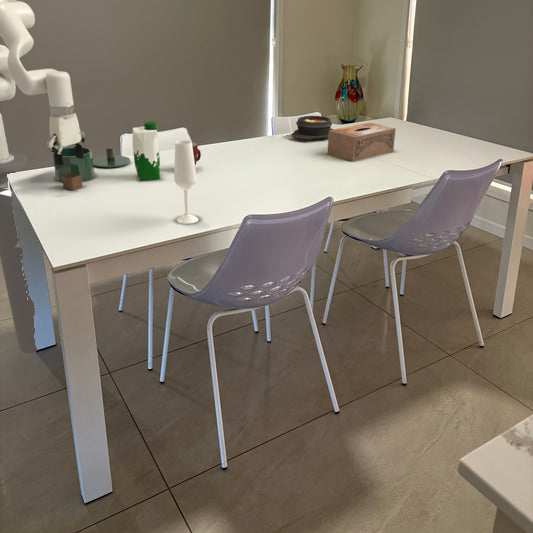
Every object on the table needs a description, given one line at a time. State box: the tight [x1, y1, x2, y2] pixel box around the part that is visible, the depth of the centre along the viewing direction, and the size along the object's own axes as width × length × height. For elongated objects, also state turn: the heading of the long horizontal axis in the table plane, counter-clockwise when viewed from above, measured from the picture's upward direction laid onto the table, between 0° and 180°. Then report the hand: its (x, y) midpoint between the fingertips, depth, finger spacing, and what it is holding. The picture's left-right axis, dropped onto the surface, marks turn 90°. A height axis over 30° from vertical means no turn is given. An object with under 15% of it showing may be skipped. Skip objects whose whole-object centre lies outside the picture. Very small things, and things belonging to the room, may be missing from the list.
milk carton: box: [132, 121, 161, 182], centre depth 214 cm, size 9×9×20 cm
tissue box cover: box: [327, 121, 396, 162], centre depth 250 cm, size 26×14×10 cm, turn 130°
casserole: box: [290, 115, 335, 140], centre depth 275 cm, size 25×19×8 cm
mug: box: [191, 141, 202, 166], centre depth 226 cm, size 10×8×10 cm
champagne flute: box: [173, 139, 199, 225], centre depth 175 cm, size 7×7×24 cm
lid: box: [93, 146, 131, 168], centre depth 232 cm, size 15×15×6 cm
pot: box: [52, 146, 96, 183], centre depth 216 cm, size 14×14×10 cm
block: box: [62, 173, 83, 192], centre depth 205 cm, size 4×4×4 cm
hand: (70, 161), depth 202 cm, fingers open, 9 cm apart
